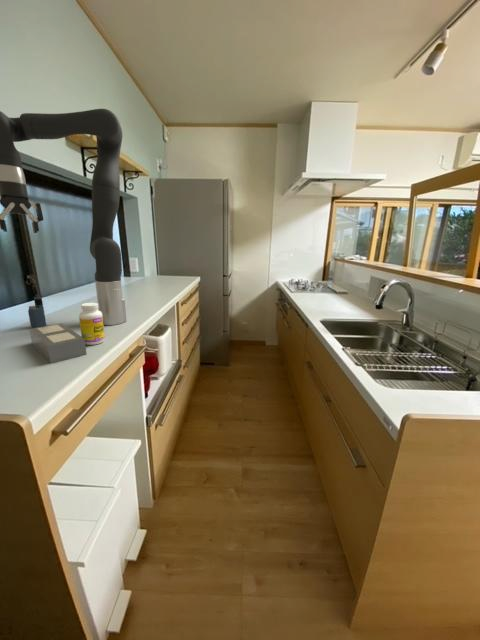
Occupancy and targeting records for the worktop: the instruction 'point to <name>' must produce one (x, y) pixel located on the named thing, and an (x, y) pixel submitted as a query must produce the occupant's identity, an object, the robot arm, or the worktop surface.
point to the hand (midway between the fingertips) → (21, 232)
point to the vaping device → (37, 313)
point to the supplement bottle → (91, 324)
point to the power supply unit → (58, 342)
